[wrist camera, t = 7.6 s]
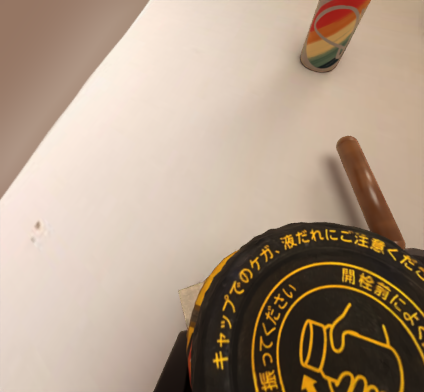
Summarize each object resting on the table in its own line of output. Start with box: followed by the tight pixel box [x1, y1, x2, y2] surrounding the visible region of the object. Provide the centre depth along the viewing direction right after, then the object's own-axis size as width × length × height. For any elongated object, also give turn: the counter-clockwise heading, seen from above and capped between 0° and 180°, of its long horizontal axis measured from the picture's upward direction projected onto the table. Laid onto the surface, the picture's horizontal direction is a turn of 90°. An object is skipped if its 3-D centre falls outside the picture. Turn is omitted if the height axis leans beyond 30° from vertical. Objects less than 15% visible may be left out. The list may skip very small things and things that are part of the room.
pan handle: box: [336, 136, 405, 250], centre depth 22 cm, size 12×2×2 cm, turn 6°
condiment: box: [178, 222, 424, 392], centre depth 9 cm, size 7×8×12 cm
